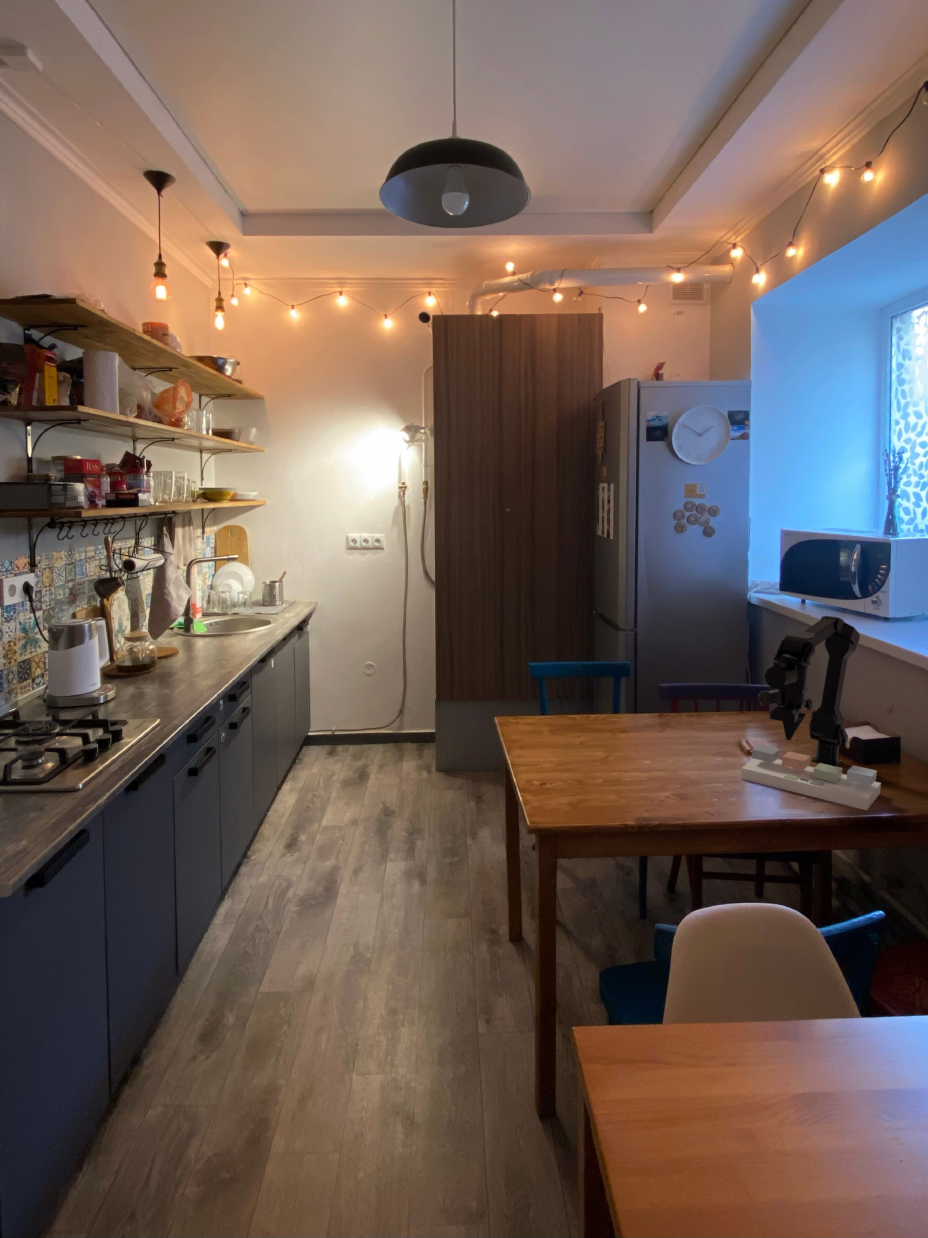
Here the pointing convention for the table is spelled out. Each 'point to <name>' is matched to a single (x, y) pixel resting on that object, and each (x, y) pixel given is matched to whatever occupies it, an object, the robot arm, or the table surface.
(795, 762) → the key terracotta
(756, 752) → the key slate
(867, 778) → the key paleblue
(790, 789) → the keypad base
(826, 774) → the key sage
